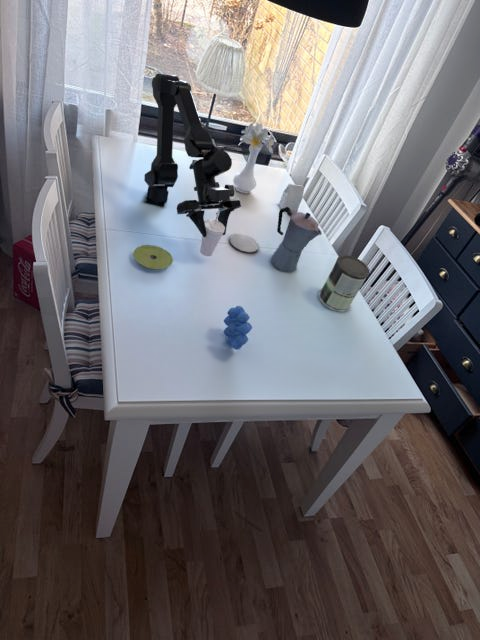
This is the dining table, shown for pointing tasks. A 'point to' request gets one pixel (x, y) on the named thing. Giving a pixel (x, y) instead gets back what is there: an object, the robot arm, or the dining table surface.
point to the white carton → (292, 197)
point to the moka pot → (294, 239)
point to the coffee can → (343, 283)
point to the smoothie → (211, 236)
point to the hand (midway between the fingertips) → (214, 235)
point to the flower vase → (252, 156)
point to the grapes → (237, 327)
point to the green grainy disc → (153, 257)
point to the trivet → (243, 243)
